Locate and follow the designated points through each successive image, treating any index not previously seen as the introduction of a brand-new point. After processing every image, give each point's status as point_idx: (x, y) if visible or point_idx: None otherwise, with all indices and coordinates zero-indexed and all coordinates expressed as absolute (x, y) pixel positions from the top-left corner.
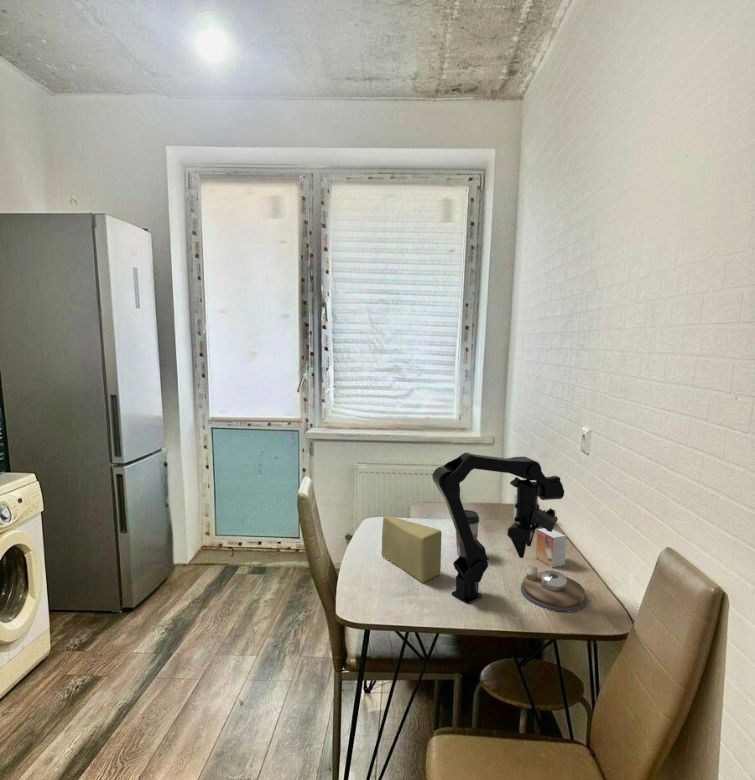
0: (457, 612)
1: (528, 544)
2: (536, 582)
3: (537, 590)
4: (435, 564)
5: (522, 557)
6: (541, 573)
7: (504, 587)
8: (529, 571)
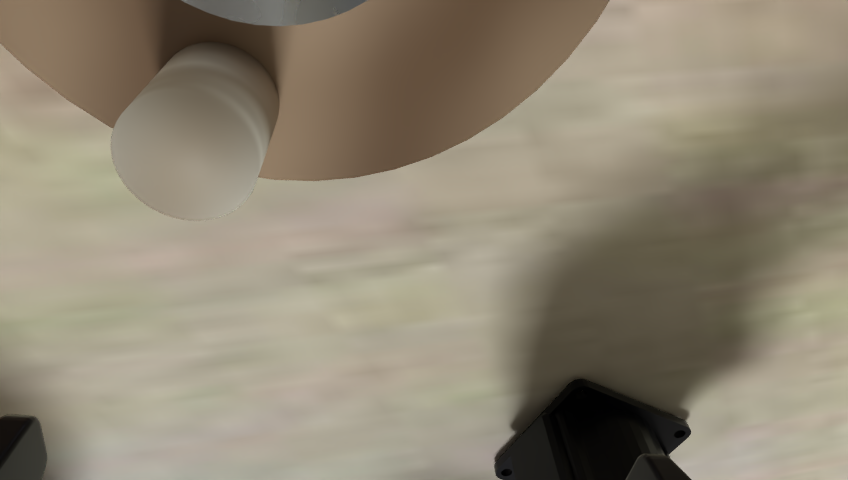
0: (783, 443)
1: (30, 474)
2: (288, 43)
3: (482, 22)
4: None
5: (668, 469)
6: (257, 20)
7: (371, 274)
8: (259, 170)
